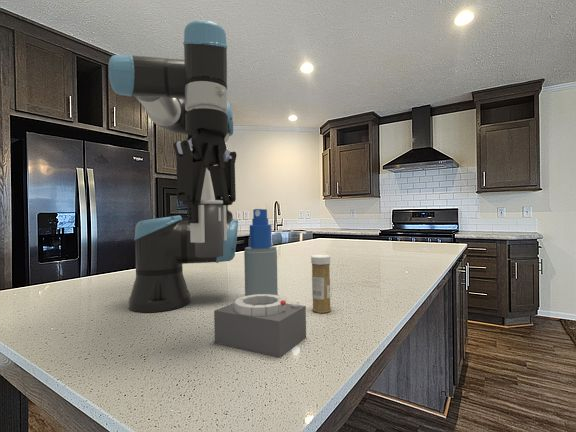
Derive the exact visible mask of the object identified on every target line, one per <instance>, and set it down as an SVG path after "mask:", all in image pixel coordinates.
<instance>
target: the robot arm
mask: <svg viewBox="0 0 576 432" xmlns="http://www.w3.org/2000/svg"><path fill="white" fill-rule="evenodd" d="M183 31H184V32H183V35H184V36H183V42H182V45H183V56H184V57H183V59H177V58H176V59H175V58H168V57H167V58H165V57H155V56H141V55H132V54H113V55H112V56H110V58H109V61H108V79H109V83H110V87H111V89H112V91H113V92H114V93H115V94H116V95H118V96H124V97H125V96H127V97H135V98H136V99H137V100H138V101H139V103H140V104H141V105H142V106H143V107H144V108H145V110H146V115H147V116H148V118H149V119H150V121H151V122H152V123H153V124H155V125H156V126H158V127H159V128H161V129H164V130H165V131H167V132H168V131H169V132H172V133H174V134H178V135H188V136H187V138H186V140H179V141H175V142H174V143H173V149H174V154H175V155H176V199H177V201H180V202H182V204H183V205H184V206H186V207H187V220H183V218H182V216H181V215H173V216H172V215H171V216H166V217H157V218H151V219H145V220H140V221H138V222H137V223H136V225H135V229H134V231H135V233H134V238H133V239H134V240H133V241H134V248H135V250H134V253H135V254H134V257H135V278H134V280H135V281H134V282H133V286H132V289H131V293H130V296H129V298H128V299H129V300H128V308H129V310H130V311H134V312H138V313H139V312H140V313H150V312H151V313H156V312H167V311H171V310H176V309H179V308H183V307H184V306H187V305H188V304H190V302H191V296H190V295H191V293H190V291H189V289H188V286H187V283H186V279H185V277H184V272H183V265H184V264H204V263H205V264H207V263H209V264H211V263H216V264H219V263H223V262H231V261H232V260H234V258H235V256H236V248H237V242H238V241H237V240H238V229H239V220H238V219H236V218H233V215H234V214H233V212H232V211H231V210H230V209H229V206H232V205H233V203H235V202H236V198H237V197H236V194H237V193H236V160H237V156H238V155H237V152H236V151H230V150H229V149H228V148H227V144H226V143H227V142H229V139H230V137H231V136H233V135H234V134H233V133H234V119H233V109H232V107H231V103H230V101H229V100H228V57H227V56H228V53H227V52H228V50H227V49H228V44H227V33H226V31H225V29H224V28H223V26H221V25H220V24H218V23H216V22H214V21H211V20H205V19H199V20H198V19H197V20H193V21H191V22H189V23H187V25H185V27H184V30H183ZM201 200H222V201H223V256H220V257H211V258H199V257H195V243H204V242H205V225H204V205H198V204H200V201H201Z"/></svg>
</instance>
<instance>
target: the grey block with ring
mask: <svg viewBox="0 0 576 432" xmlns="http://www.w3.org/2000/svg"><path fill="white" fill-rule="evenodd" d="M286 300H287V299H286V297H284V296H281V295H271V294H256V295H248V296H245V295H244V296H241V297H237V298H236V299H235V301H234V302H232V303H229V304H227V305H225V306H222V307H219V308H217V309H215V310H214V311H213V315H214V317H213V319H214V321H213V323H214V324H213V325H214V326H213V327H214V329H213V330H214V344H219V345H223V346H227V347H232V348H237V349H241V350H245V351H249V352H254V353H259V354H264V355H268V356H272V357H277V358H282V356H284V355H285V354H286V353H288V352H289V351H290V350H291V349H293V348H295V347H296V346H297V345H298V344H300V343H301V342H302V341H303V340H305V339H307V309H306V307H307V306H306V305H300V302H298V301H292V302H290V303H287V301H286Z"/></svg>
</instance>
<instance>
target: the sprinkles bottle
mask: <svg viewBox="0 0 576 432" xmlns="http://www.w3.org/2000/svg"><path fill="white" fill-rule="evenodd" d="M310 257H311V258H310V263H311V274H312V275H311V290H312V291H311V292H312V293H311V295H312V308H311V309H312V311H313V312H314V313H318V314H326V313H330V312H331V311H332V307H331V277H330V276H331V274H330V272H331V271H330V264H331V256H330V255H328V254H313V255H311V256H310Z"/></svg>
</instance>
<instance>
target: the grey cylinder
mask: <svg viewBox="0 0 576 432" xmlns="http://www.w3.org/2000/svg"><path fill="white" fill-rule="evenodd" d="M198 205H204V225H205V242H204V243H195V257H199V258H211V257H220V256H223V201H222V200H201V201H200V204H198Z"/></svg>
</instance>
